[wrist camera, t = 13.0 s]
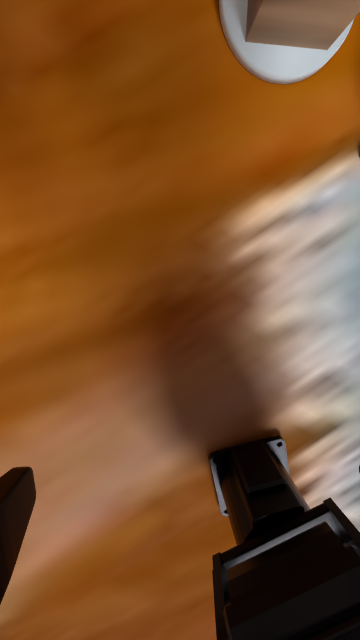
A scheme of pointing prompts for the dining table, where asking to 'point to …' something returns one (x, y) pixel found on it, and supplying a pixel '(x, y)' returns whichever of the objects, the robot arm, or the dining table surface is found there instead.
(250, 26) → the taupe upright block
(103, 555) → the dining table surface
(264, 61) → the pad
